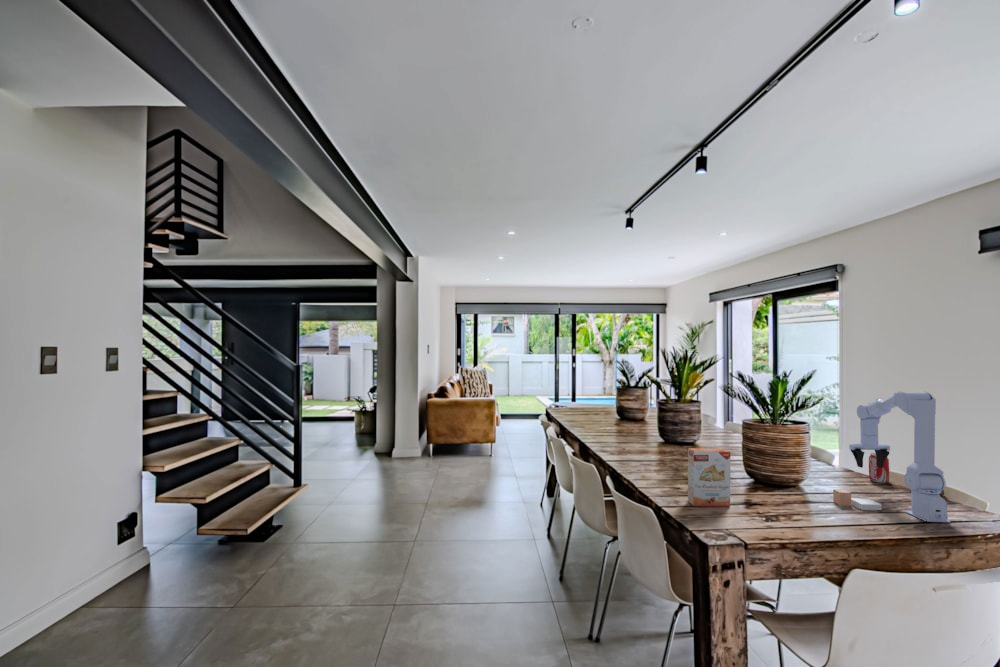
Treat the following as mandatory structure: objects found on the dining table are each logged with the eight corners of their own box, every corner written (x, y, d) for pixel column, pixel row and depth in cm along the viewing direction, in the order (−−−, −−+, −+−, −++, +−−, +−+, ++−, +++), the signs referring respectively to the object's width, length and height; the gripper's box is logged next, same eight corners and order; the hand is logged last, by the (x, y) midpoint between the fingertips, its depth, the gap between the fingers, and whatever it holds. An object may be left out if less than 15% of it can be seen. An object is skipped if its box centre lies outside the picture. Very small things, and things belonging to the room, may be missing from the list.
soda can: (890, 484, 201) (889, 457, 201) (869, 481, 205) (868, 454, 206) (889, 481, 207) (888, 454, 207) (868, 478, 211) (868, 451, 211)
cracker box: (694, 507, 173) (693, 451, 173) (687, 501, 179) (687, 447, 180) (731, 507, 173) (730, 451, 173) (723, 501, 179) (723, 447, 179)
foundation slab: (881, 511, 170) (881, 504, 170) (861, 511, 170) (861, 504, 170) (868, 505, 177) (868, 498, 177) (849, 504, 177) (848, 497, 177)
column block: (851, 506, 174) (851, 492, 175) (840, 505, 175) (839, 492, 175) (844, 502, 178) (844, 489, 179) (833, 502, 179) (833, 489, 179)
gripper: (881, 432, 195) (881, 465, 195) (844, 432, 197) (845, 464, 196) (893, 436, 188) (894, 469, 188) (855, 435, 190) (856, 468, 189)
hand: (869, 467), depth 192 cm, fingers open, 7 cm apart
